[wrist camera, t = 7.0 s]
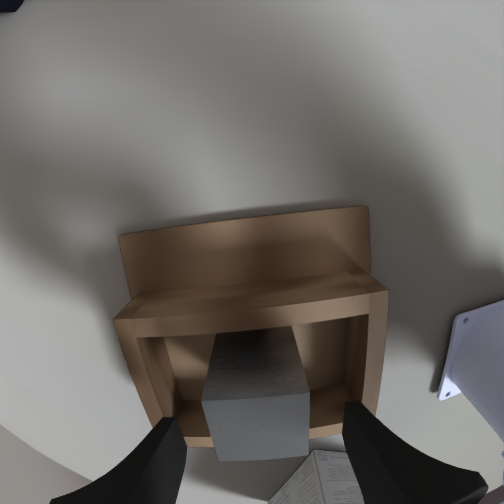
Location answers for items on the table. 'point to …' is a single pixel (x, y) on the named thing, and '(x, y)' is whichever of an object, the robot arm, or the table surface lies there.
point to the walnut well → (254, 308)
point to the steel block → (257, 396)
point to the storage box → (9, 5)
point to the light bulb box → (321, 481)
